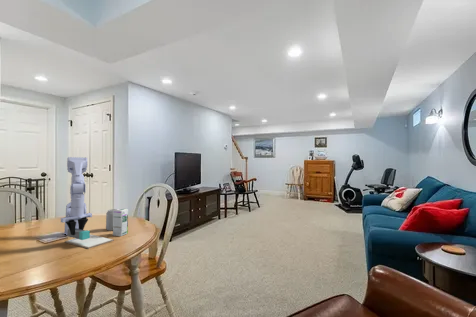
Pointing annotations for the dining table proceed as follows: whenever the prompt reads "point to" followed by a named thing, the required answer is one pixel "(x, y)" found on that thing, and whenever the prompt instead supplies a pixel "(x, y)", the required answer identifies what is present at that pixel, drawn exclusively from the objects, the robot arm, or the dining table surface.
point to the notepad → (89, 241)
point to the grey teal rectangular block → (80, 234)
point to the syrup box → (120, 222)
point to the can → (109, 220)
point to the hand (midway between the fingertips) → (76, 233)
